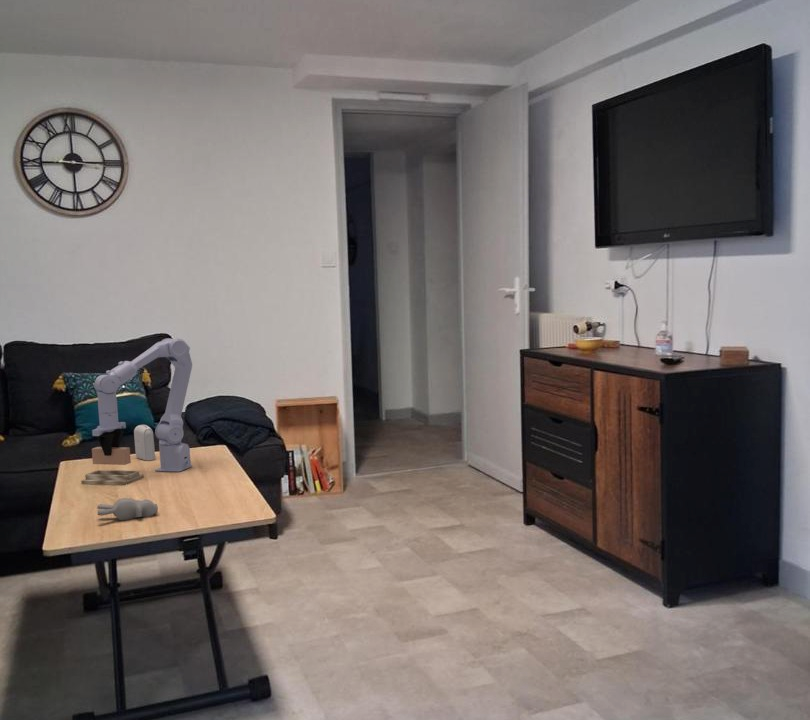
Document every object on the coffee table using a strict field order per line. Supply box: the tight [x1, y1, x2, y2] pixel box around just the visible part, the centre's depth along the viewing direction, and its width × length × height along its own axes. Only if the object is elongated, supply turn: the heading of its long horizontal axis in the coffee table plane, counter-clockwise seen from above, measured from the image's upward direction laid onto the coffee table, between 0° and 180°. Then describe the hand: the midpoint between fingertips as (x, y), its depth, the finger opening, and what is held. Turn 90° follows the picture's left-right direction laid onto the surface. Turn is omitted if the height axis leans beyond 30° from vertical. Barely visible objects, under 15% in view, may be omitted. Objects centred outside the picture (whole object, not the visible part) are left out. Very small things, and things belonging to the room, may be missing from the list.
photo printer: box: [133, 424, 156, 461], centre depth 294 cm, size 10×4×12 cm, turn 39°
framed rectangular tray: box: [80, 469, 144, 486], centre depth 261 cm, size 16×10×2 cm, turn 75°
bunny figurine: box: [96, 497, 159, 521], centre depth 216 cm, size 10×5×15 cm
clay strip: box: [91, 446, 132, 466], centre depth 261 cm, size 12×3×5 cm, turn 74°
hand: (111, 454), depth 261 cm, fingers closed on clay strip, 3 cm apart
